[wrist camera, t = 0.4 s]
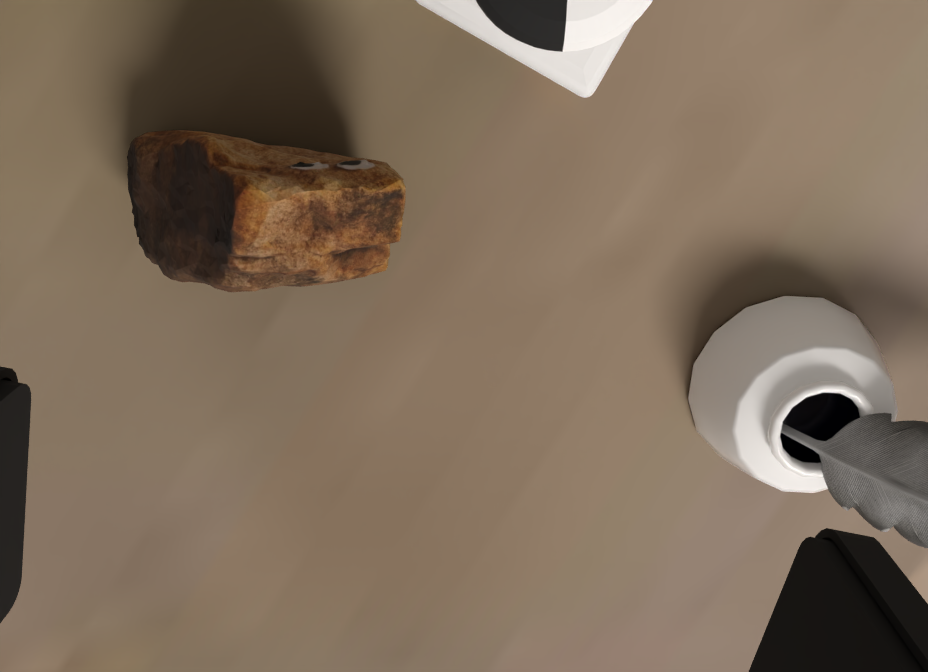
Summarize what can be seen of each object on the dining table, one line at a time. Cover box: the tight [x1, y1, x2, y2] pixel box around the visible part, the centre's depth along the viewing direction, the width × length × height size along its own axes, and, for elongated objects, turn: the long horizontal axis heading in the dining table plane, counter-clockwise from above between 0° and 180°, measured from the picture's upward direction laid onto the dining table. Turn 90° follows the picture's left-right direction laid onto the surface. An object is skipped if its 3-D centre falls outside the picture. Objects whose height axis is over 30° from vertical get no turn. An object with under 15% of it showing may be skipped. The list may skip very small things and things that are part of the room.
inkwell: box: [688, 296, 928, 548], centre depth 38 cm, size 9×18×10 cm, turn 75°
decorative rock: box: [127, 130, 405, 292], centre depth 34 cm, size 12×6×11 cm, turn 85°
